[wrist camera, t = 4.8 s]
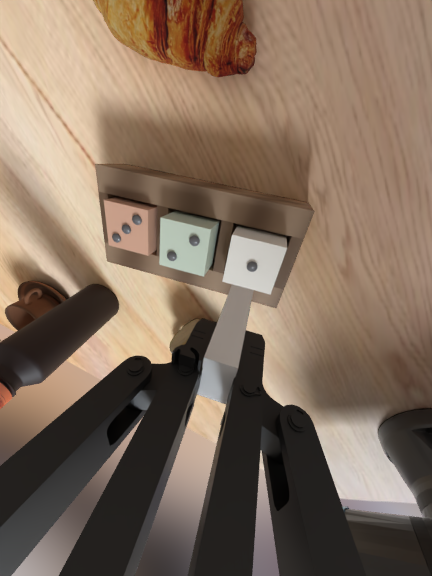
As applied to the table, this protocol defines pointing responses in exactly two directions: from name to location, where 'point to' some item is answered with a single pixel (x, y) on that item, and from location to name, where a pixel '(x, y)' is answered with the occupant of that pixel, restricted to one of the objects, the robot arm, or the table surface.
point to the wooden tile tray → (210, 204)
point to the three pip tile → (131, 225)
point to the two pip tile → (187, 242)
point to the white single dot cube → (254, 259)
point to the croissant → (184, 32)
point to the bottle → (52, 339)
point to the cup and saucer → (32, 303)
